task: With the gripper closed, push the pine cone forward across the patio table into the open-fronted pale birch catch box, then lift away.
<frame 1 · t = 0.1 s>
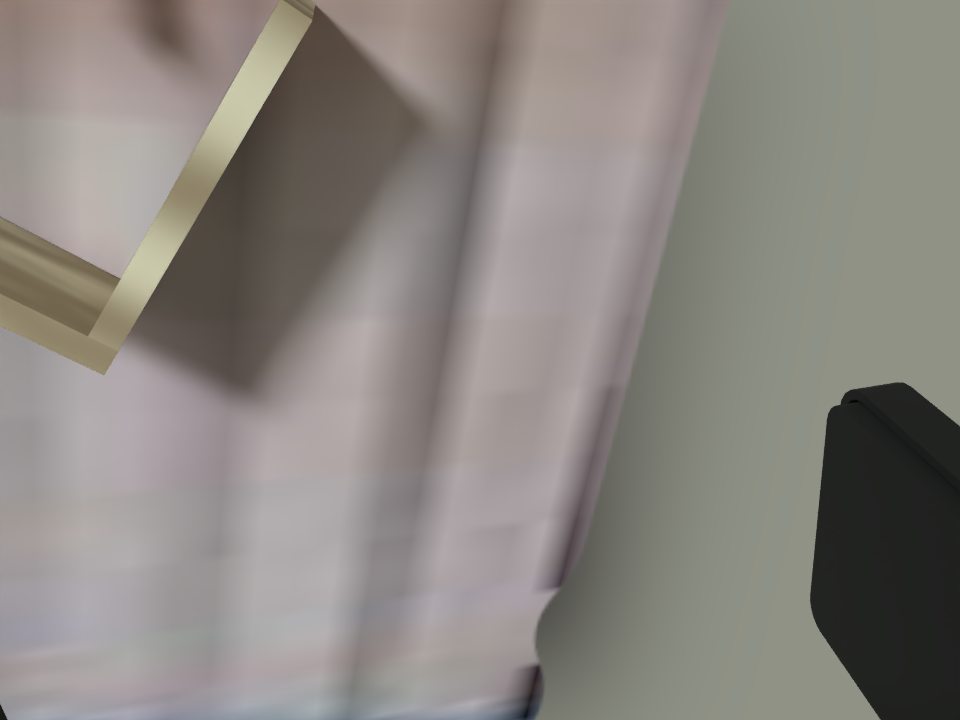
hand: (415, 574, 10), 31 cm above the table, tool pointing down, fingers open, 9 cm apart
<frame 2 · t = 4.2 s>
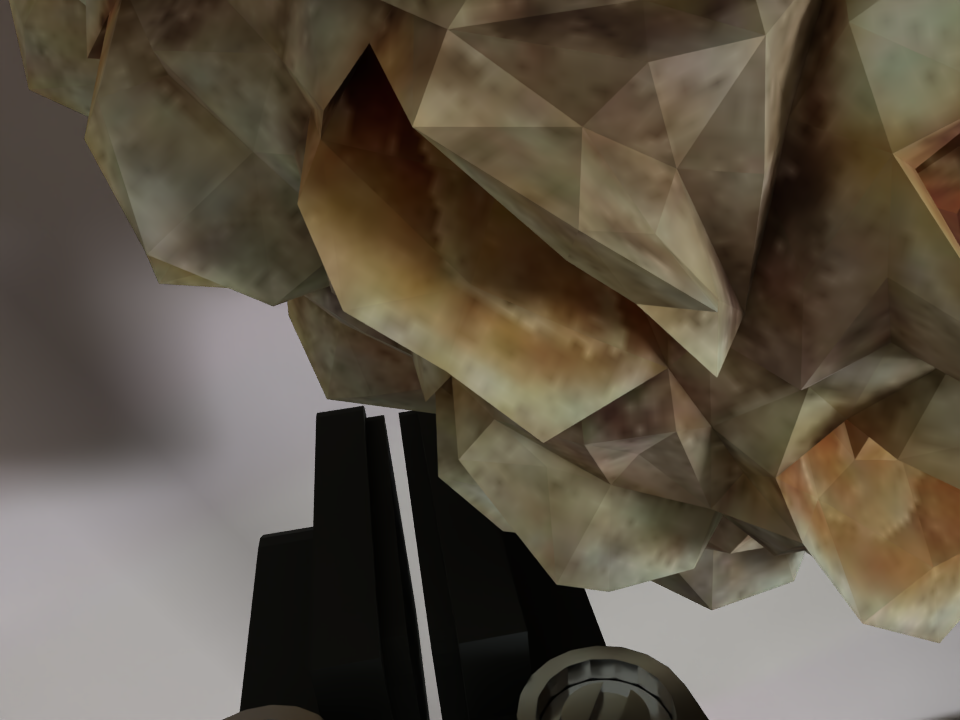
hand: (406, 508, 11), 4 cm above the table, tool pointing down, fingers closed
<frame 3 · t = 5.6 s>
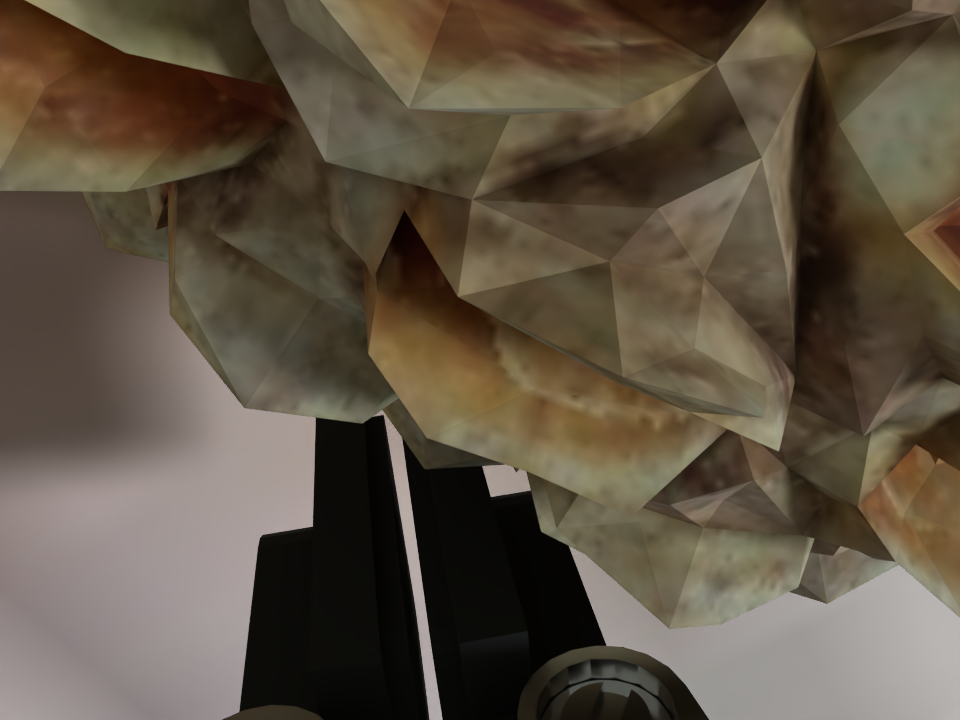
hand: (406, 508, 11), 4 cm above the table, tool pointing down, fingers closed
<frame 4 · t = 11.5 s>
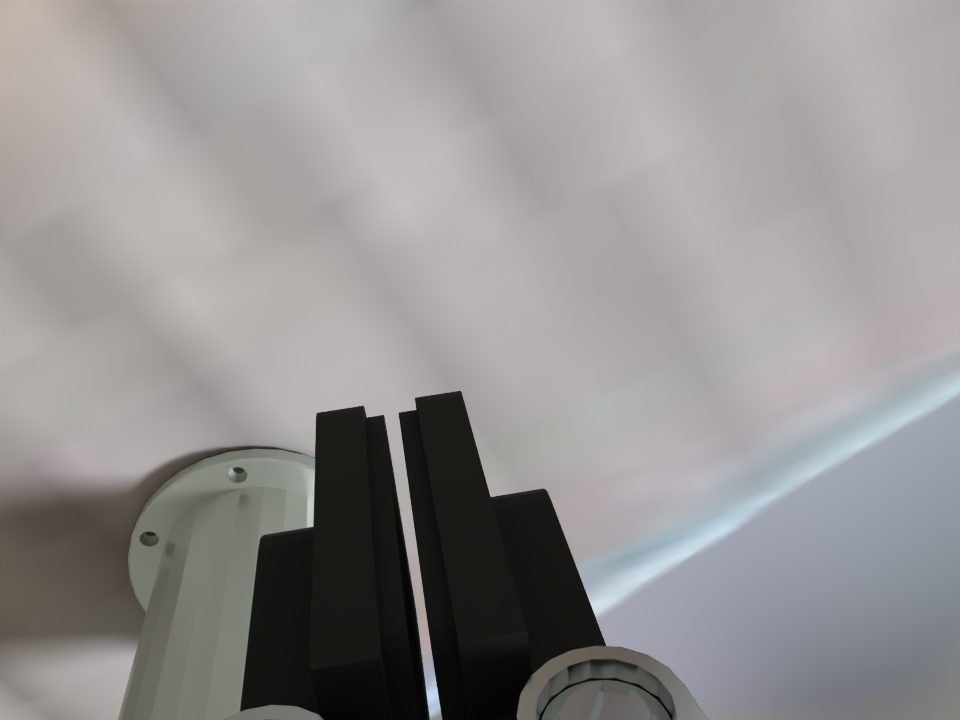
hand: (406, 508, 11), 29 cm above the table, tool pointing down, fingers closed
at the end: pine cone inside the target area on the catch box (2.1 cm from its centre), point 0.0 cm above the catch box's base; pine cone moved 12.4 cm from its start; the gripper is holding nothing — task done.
